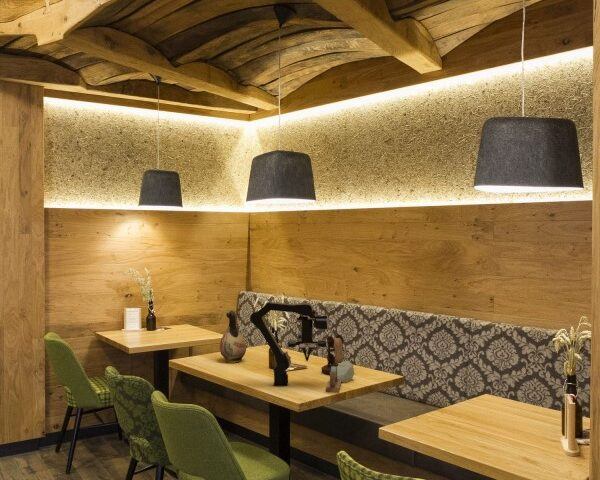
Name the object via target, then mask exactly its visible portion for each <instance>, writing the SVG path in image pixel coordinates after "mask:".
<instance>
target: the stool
mask: <svg viewBox="0 0 600 480" xmlns="http://www.w3.org/2000/svg"><path fill="white" fill-rule="evenodd" d="M333 367H336V377H335V372H334V371H331V372H330V373H329V380H328V382H327V384H326V386H325V393H326V392H337V393H336V394H339V393H340V391H339V390H341V388H340V387H342V383H341V381H337V366H333Z"/></svg>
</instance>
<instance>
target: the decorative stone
mask: <svg viewBox="0 0 600 480" xmlns="http://www.w3.org/2000/svg"><path fill="white" fill-rule="evenodd" d="M354 376H355V368H354V365H353V363H351V362H350V361H348V360H343V362H341V363H339V365H338V366H337V381H341V382H342V383H347V382H351V381H352V380H353V378H354Z"/></svg>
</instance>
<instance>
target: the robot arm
mask: <svg viewBox="0 0 600 480" xmlns="http://www.w3.org/2000/svg"><path fill="white" fill-rule="evenodd" d="M271 311H276V312H287V313H294V314H297V315H299V316H298V317H297V318H296V320H297V321H300V332H297V340H300V341H297V340H296V339H288V340H287V347H288V348H295V347H296V346H299V347H298V348H299V349H300V350H302V352H303V354H304V359H305V361H306V362H309V359H310V356H311V353H312V351H313V350H315V349H316V348H315V346H319V348H326V347H327V339H317V340H315V341H314V330H313V329H314V328H315V329H316V330H328V329H329V319H328V315H327V314H325V315H318V313H316V312H315V310H314V306H313V304H311V303H310V302H304V303H303V302H302V303H301V302H300V303H295V304H293V303H282V302H275V301H274V302H273V301H268V302H267V303H266V304H265V305H263V307H261V308H260V309H259V310H255V311H254V312H252V313H251V314H250V316H249V321H250V322H251V323H252V324H253V325H254V327H256V329H258V331H260V333H261V335H262V336H263V338H264V339H265V342H266V343H267V344H268V346H269V348H270V350H271V351H272V353H273V355H274V358H275V359H274V360H275V362H276V365H275V366H274V367H273V369H272V371H273V386H274V387H275V386H276V387H283V386H284V387H287V386H288V384H289V374H288V371H287V370H288V369H289V368H290V366H291V363H292V360H291V359H292V357H291V356H290V355H289V353H288V351H285V352H284V350H282V348H281V347H280V345H279V343H278V342H277V340H276V339H275V338H276V337H275V336H274V335H273V333H272V332H271V330H270V328H269V327H268V325H267V321H266V317H265V316H266V315H267V314H268V313H269V312H271ZM306 347H307V348H306Z"/></svg>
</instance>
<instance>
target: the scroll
mask: <svg viewBox="0 0 600 480" xmlns="http://www.w3.org/2000/svg"><path fill="white" fill-rule="evenodd" d="M343 343H344V338H343V336H342V335H341V334H337V335H336V336H335V338H334V337H333V336H332V335H330V336H328V337H327V338H326V345H327V346H326V347H327V349H326V353H327V356H326V360H327V363H326V364H325V365H323V366H322V367H321V373H323V374H324V372H325V373H328V374H330V372H331V367H333V366H338V365H339V364H340V363H341V362H343V361H344V353H343V352H344V351H343V350H344V344H343ZM331 352H334V354H333V353H331Z"/></svg>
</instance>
